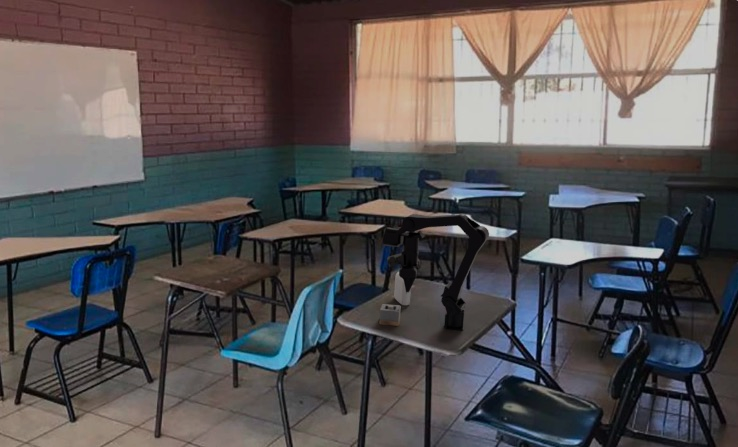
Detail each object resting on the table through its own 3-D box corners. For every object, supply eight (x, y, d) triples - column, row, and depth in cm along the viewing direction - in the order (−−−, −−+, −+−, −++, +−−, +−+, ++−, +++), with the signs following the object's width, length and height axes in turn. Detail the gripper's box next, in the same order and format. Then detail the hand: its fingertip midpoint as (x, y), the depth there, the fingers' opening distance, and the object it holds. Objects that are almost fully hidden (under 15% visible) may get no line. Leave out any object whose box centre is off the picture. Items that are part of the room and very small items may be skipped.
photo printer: (411, 305, 254) (412, 275, 251) (401, 305, 252) (402, 276, 250) (402, 297, 263) (404, 269, 261) (392, 297, 262) (394, 269, 259)
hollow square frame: (400, 315, 236) (400, 305, 236) (398, 321, 230) (398, 311, 229) (381, 313, 237) (382, 303, 237) (379, 320, 231) (380, 309, 230)
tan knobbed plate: (400, 319, 237) (400, 304, 235) (398, 325, 230) (398, 310, 229) (381, 317, 238) (382, 302, 236) (379, 324, 231) (380, 308, 230)
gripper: (391, 241, 242) (390, 280, 245) (386, 252, 224) (384, 294, 227) (420, 243, 241) (418, 282, 244) (417, 255, 223) (414, 296, 226)
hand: (408, 288), depth 235 cm, fingers open, 9 cm apart
